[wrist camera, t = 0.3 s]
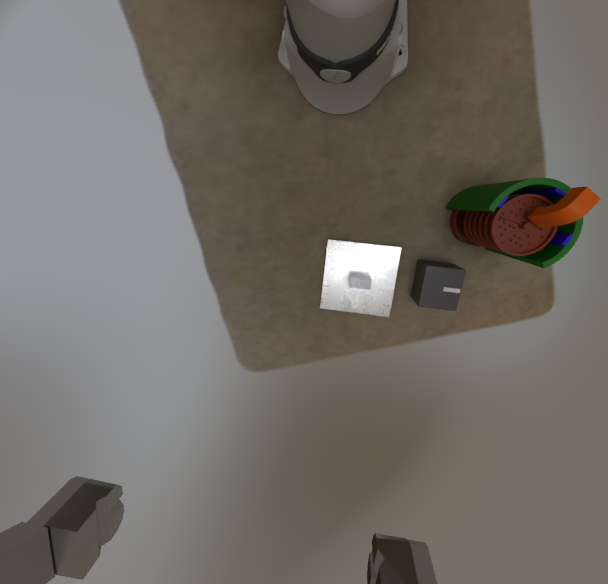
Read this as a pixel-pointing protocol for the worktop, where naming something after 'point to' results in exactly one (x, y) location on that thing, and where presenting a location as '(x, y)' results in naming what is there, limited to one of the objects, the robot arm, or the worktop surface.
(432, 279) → the dark grey cube
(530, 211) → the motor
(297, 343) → the worktop surface
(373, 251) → the shaft plate
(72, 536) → the robot arm
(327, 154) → the worktop surface
